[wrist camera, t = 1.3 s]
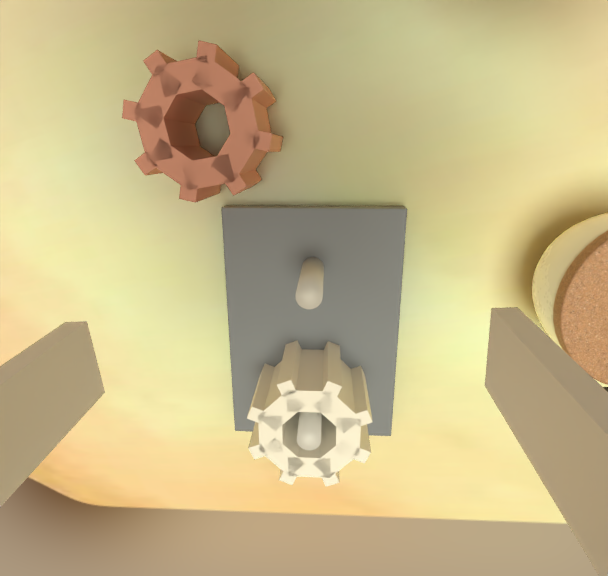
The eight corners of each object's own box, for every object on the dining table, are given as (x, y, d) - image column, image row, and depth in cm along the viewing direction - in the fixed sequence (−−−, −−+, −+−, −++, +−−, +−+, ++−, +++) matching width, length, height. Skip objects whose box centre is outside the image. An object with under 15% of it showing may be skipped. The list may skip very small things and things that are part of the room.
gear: (149, 78, 29) (105, 60, 23) (267, 53, 28) (252, 28, 23) (181, 200, 32) (148, 210, 26) (290, 180, 31) (282, 186, 25)
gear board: (226, 205, 32) (193, 222, 24) (403, 206, 31) (427, 224, 23) (238, 420, 37) (215, 489, 30) (388, 424, 37) (404, 496, 29)
